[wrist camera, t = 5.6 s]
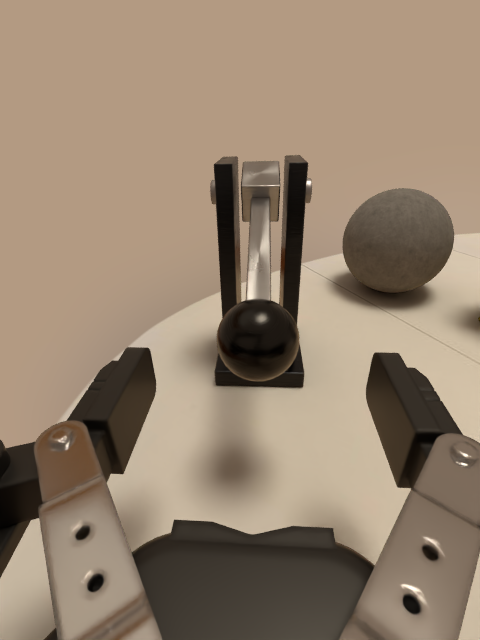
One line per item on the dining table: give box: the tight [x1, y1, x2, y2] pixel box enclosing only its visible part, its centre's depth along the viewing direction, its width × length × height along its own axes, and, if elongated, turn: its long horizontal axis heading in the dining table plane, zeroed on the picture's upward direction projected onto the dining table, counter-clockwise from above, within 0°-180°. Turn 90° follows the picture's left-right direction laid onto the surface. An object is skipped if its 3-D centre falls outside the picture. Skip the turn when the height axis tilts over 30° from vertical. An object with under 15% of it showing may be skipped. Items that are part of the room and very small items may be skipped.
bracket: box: [210, 155, 312, 387], centre depth 24 cm, size 8×6×14 cm
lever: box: [217, 161, 299, 381], centre depth 18 cm, size 14×3×3 cm, turn 177°
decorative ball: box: [343, 188, 454, 293], centre depth 34 cm, size 10×10×10 cm
